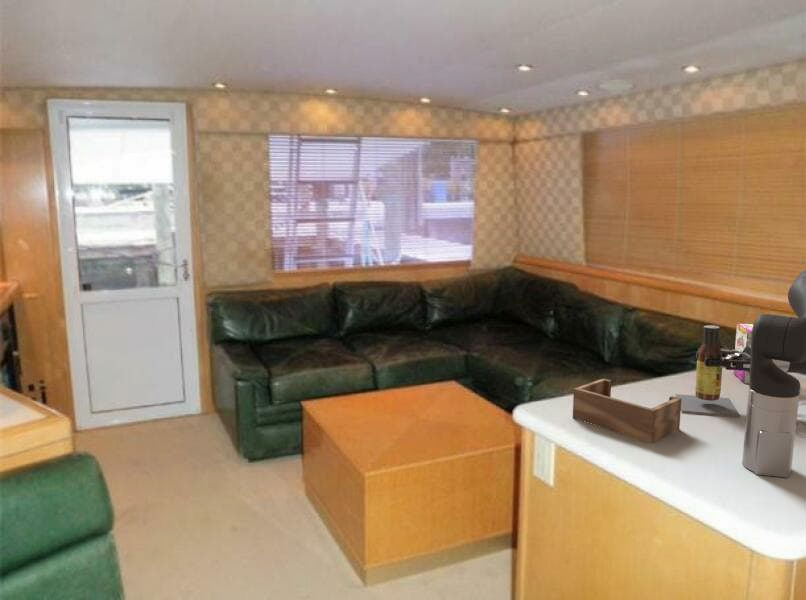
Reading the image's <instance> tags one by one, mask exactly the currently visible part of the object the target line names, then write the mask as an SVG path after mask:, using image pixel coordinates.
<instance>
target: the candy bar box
mask: <svg viewBox="0 0 806 600" xmlns="http://www.w3.org/2000/svg"><path fill="white" fill-rule="evenodd" d="M753 325H754V323H753V324H752V323H737V324H736V330H735V331H736V332H735V344H734V345H735V347H734V348H735V349H734V350H738V351H739V352H743V351H744V348H745V347H746V346H748V345H751V336H752V329H753ZM732 374H734V375H735V376H736V377H737V379H739V381H741V382H742V384H746V385H747V384H748V385H749V384H750V373H748V372H747V371H745V370H732Z"/></svg>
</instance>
